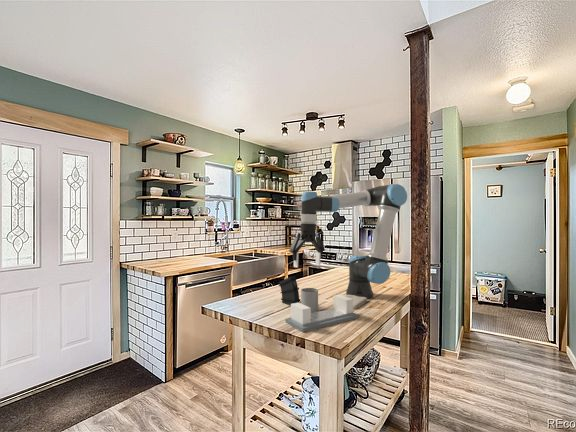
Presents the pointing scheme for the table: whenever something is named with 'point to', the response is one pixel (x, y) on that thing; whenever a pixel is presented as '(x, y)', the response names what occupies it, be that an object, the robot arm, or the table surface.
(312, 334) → the table surface
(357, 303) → the washcloth
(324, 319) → the steel rail
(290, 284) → the black ribbed block
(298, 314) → the block
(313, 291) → the cup
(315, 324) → the rail board
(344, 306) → the module
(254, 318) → the table surface
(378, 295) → the table surface
